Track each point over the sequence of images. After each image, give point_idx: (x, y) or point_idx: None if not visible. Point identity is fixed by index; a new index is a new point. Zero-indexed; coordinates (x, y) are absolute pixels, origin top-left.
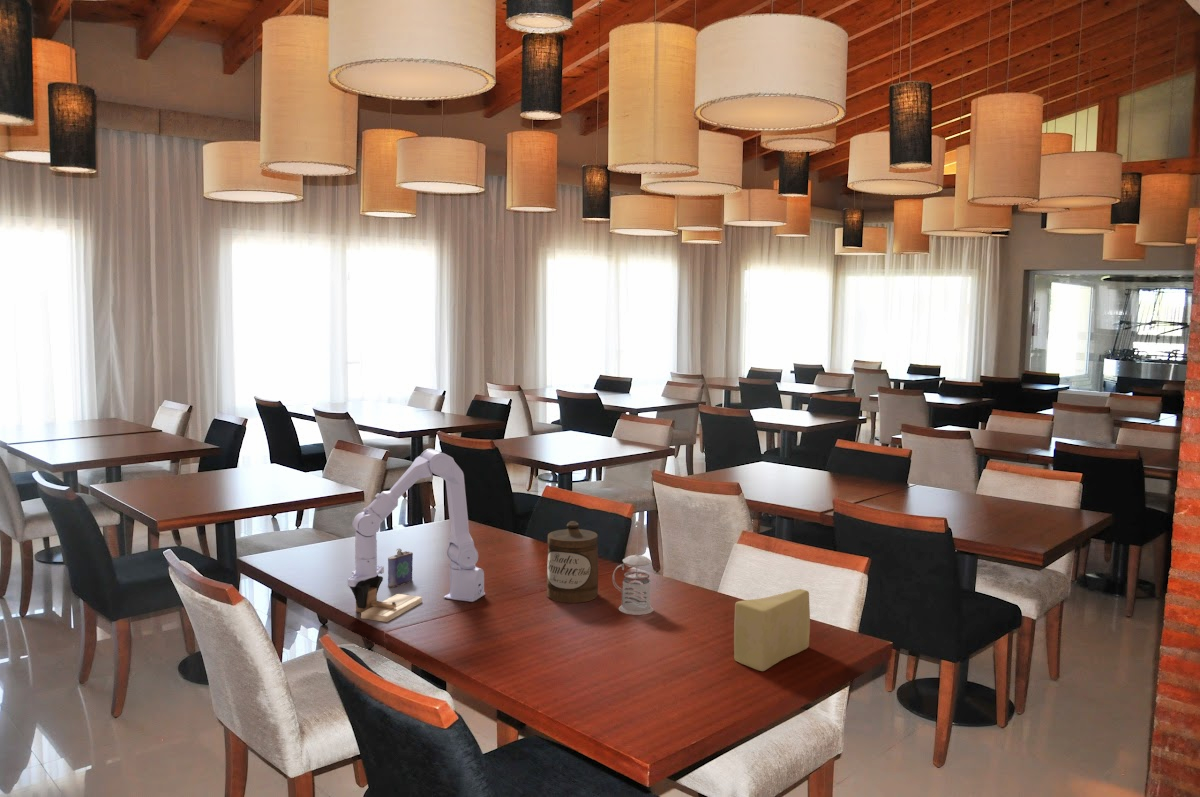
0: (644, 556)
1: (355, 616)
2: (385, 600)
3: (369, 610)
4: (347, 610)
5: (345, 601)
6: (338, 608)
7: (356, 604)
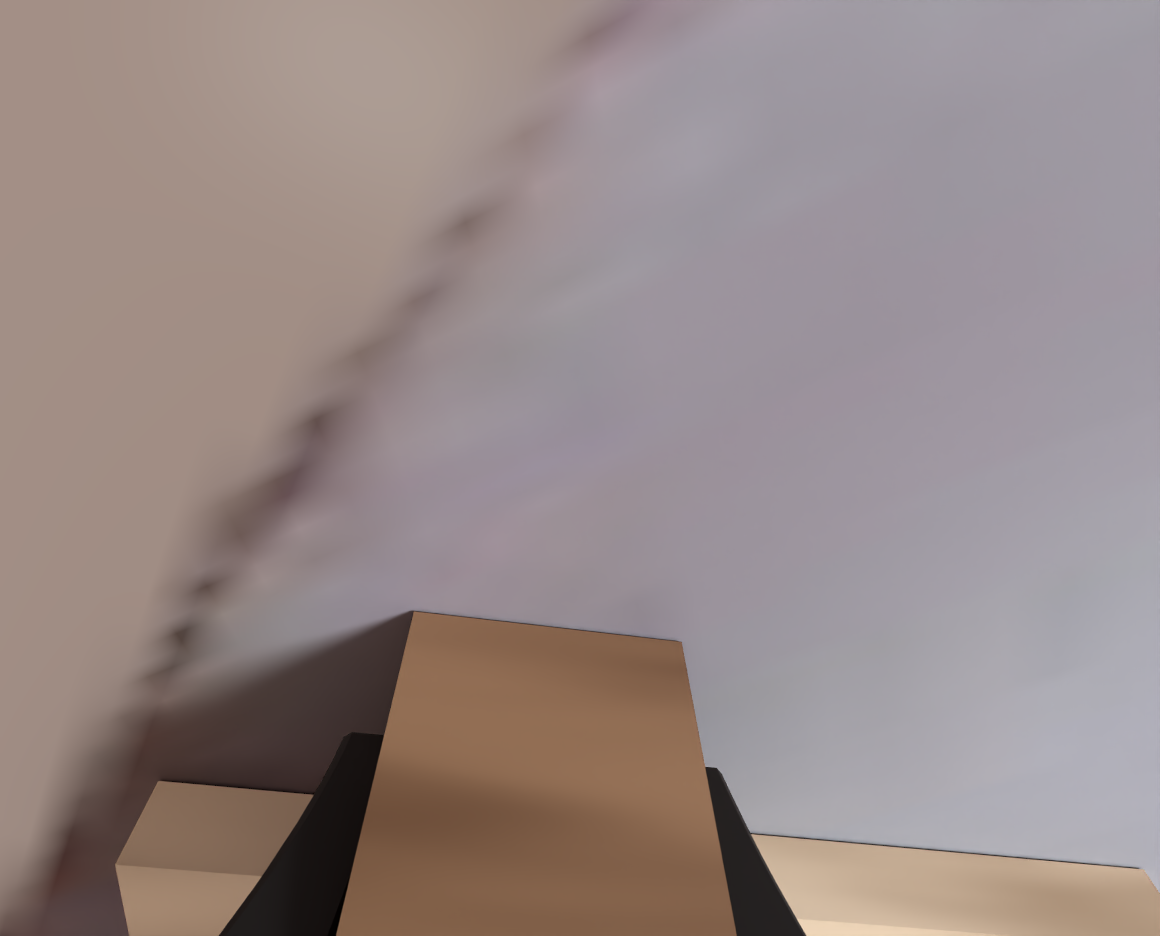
0: None
1: (194, 686)
2: (831, 931)
3: None
4: (443, 443)
5: (1096, 108)
6: (516, 190)
7: (388, 731)
